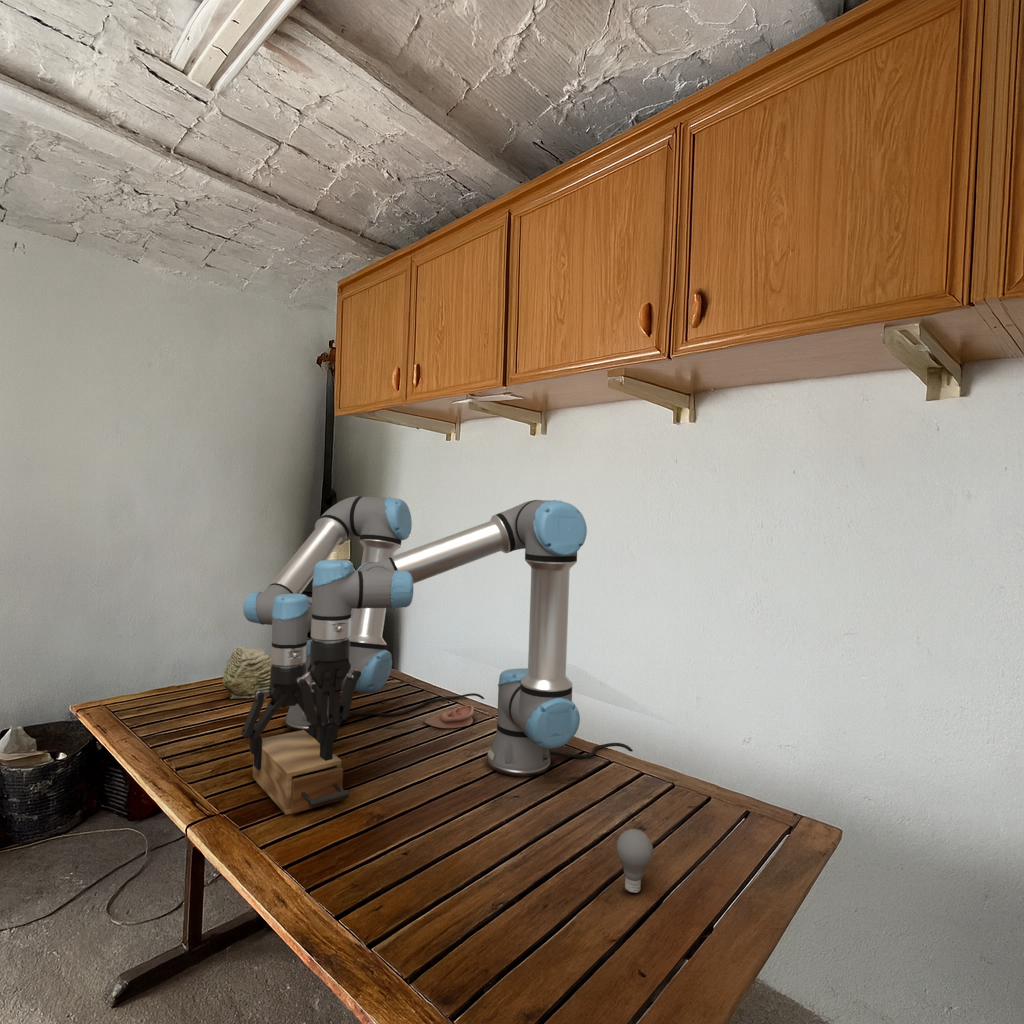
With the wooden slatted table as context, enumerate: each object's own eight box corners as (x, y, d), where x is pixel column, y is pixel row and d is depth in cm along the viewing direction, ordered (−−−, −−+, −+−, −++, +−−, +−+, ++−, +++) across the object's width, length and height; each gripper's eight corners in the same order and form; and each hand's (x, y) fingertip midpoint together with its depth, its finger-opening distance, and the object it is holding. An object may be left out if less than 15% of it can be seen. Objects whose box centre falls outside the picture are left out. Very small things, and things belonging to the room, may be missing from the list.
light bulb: (610, 879, 108) (613, 822, 108) (644, 879, 109) (647, 822, 109) (619, 902, 102) (622, 840, 102) (655, 901, 103) (658, 840, 103)
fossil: (218, 695, 195) (220, 647, 195) (278, 685, 208) (279, 640, 207) (228, 703, 189) (230, 653, 188) (289, 692, 201) (290, 645, 201)
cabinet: (340, 799, 133) (341, 759, 133) (285, 815, 126) (287, 773, 125) (302, 765, 149) (303, 729, 149) (252, 777, 141) (253, 740, 141)
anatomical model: (421, 711, 177) (434, 699, 188) (420, 725, 177) (433, 712, 188) (466, 717, 174) (477, 704, 186) (466, 731, 174) (476, 717, 186)
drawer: (354, 810, 127) (355, 778, 126) (304, 826, 120) (305, 792, 120) (305, 766, 146) (306, 739, 146) (260, 777, 139) (261, 748, 139)
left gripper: (238, 675, 131) (234, 780, 131) (345, 660, 146) (342, 754, 147) (227, 667, 137) (224, 767, 137) (332, 654, 152) (328, 744, 152)
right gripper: (305, 646, 118) (301, 772, 118) (369, 639, 126) (365, 756, 126) (290, 638, 123) (286, 758, 124) (352, 632, 132) (348, 744, 132)
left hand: (285, 760), depth 142 cm, fingers closed on cabinet, 11 cm apart
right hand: (326, 757), depth 125 cm, fingers closed
